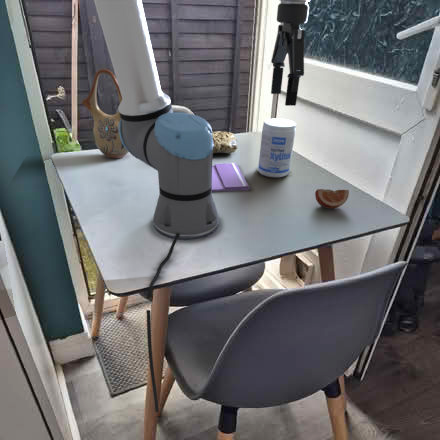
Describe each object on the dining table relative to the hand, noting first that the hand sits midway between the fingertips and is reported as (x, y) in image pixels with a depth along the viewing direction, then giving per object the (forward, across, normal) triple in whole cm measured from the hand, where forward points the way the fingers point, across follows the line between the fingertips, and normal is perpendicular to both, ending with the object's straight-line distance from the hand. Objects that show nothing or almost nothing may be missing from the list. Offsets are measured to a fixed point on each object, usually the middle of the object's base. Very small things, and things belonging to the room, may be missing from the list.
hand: (282, 99), depth 107 cm
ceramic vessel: (+20, +18, +48) cm, 55 cm away
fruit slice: (+21, -25, -8) cm, 34 cm away
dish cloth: (+20, -3, +17) cm, 27 cm away
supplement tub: (+21, 0, 0) cm, 21 cm away
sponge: (+21, +18, +18) cm, 33 cm away
